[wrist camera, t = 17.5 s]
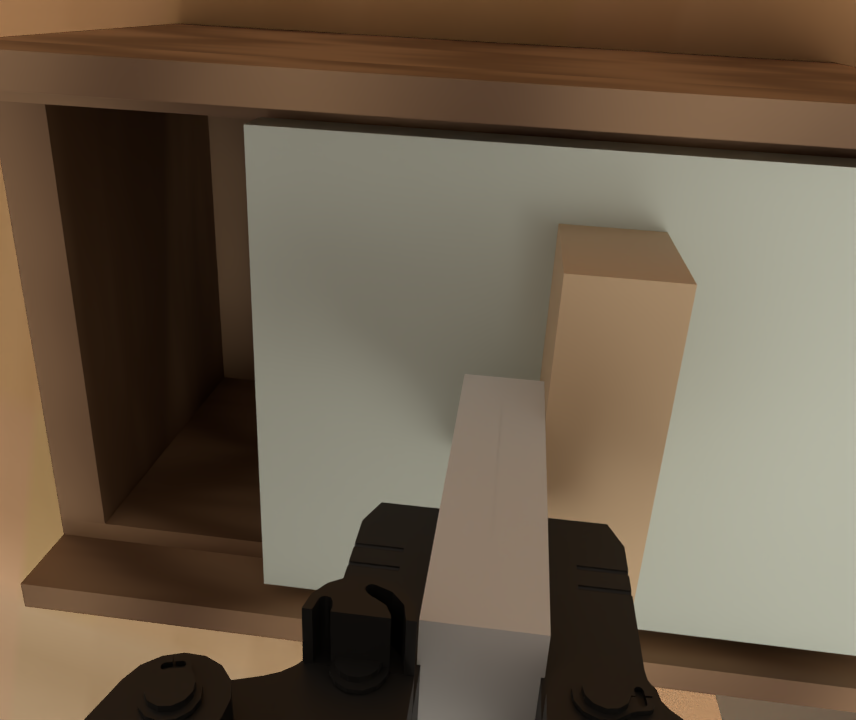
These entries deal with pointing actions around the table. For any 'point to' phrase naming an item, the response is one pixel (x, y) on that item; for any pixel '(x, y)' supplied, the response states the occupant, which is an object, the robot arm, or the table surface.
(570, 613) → the robot arm
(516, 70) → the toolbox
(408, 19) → the table surface
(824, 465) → the lid
